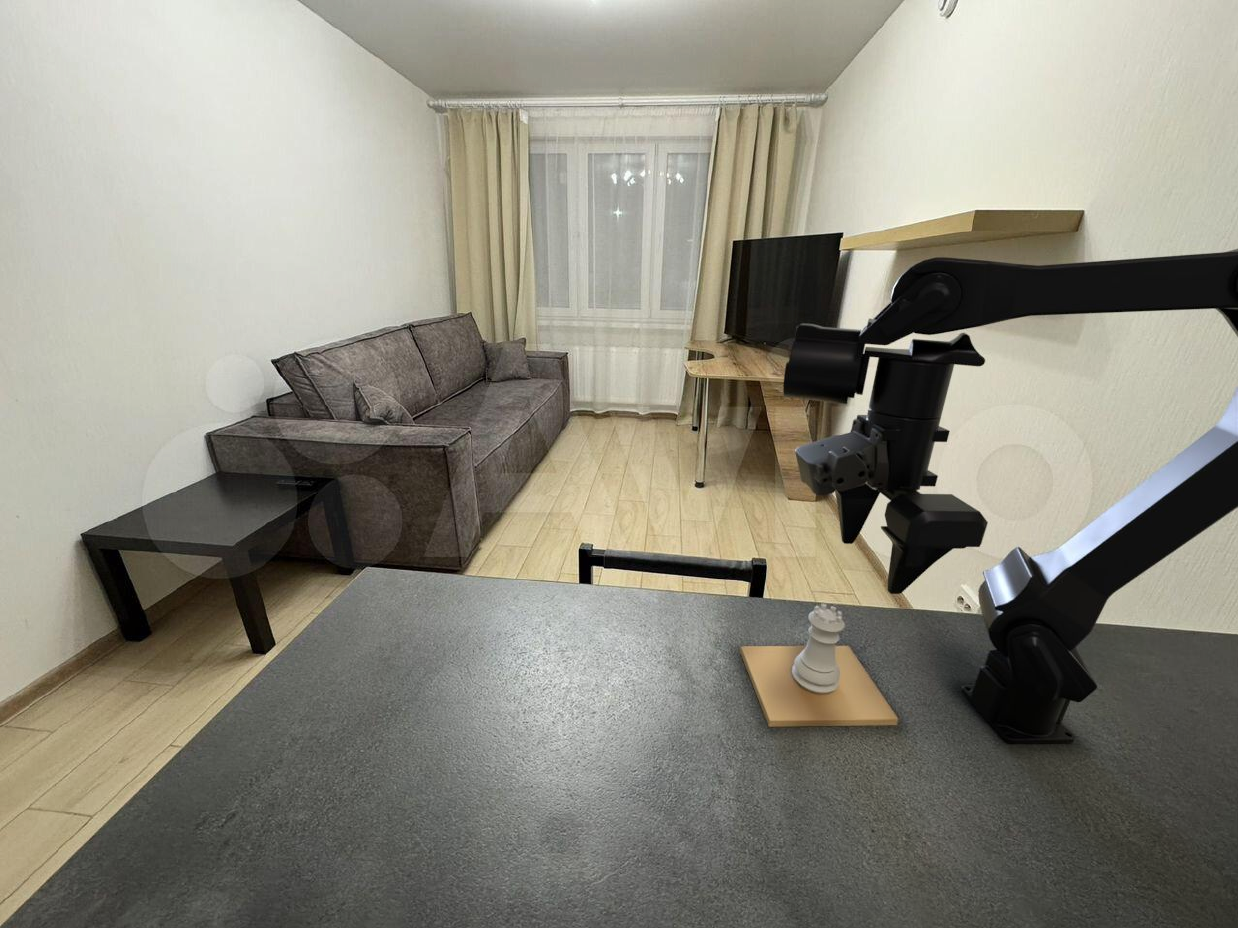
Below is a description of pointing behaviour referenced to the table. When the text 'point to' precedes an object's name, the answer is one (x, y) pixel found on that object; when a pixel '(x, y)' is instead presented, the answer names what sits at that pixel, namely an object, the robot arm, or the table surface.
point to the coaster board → (801, 707)
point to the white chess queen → (820, 652)
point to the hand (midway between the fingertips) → (868, 565)
